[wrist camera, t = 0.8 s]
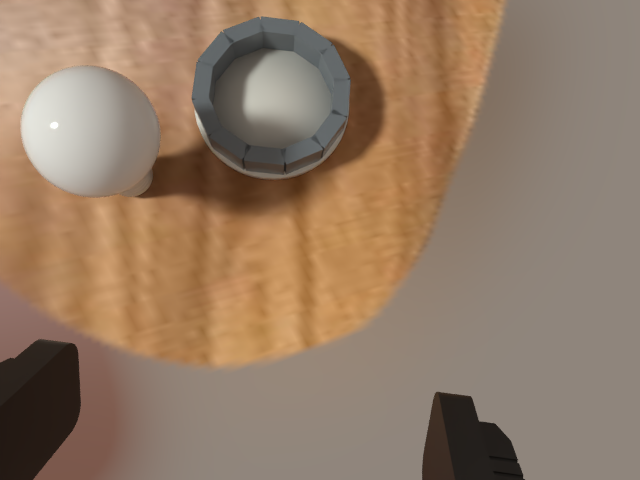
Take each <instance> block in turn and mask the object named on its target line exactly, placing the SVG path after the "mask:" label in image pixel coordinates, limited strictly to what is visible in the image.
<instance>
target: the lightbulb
mask: <svg viewBox="0 0 640 480" xmlns="http://www.w3.org/2000/svg"><path fill="white" fill-rule="evenodd" d="M21 138H22V142H23V146H24V149H25V152H26V154H27V156H28V158H29V160H30V161H31V163H32V164H33V166H34V167H35V169H36V170H37V171H38V172H39V173H40V174H41V175H42V176H43V177H44V178H45V179H46V180H47V181H48V182H50V183H51V184H53V185H54V186H56V187H58V188H59V189H61V190H63V191H66V192H68V193H71V194H74V195H78V196H82V197H90V198H101V197H109V196H113V195H117V194H120V195H122V196H126V197H134V196H138V195H140V194H142V193H144V192H145V191H146V190H147V189H148V188H149V187H150V185H151V183H152V179H153V171H152V167H153V165H154V163H155V161H156V159H157V156H158V153H159V148H160V141H161V132H160V124H159V120H158V116H157V114H156V111H155V109H154V107H153V105H152V103H151V101H150V100H149V98H148V97H147V96H146V94H145V93H144V92H143V91H142V90H141V89H140V88H139V87H138V86H137V85H136V84H135V83H134V82H133V81H131V80H130V79H128V78H127V77H125V76H124V75H122V74H120V73H118V72H115V71H113V70H110V69H107V68H103V67H98V66H89V65H82V66H73V67H68V68H65V69H62V70H59V71H57V72H55V73H53V74H51V75H49V76H48V77H46V78H45V79H43V80H42V81H41V82H40V83H39V84H38V85H37V86H36V87H35V88H34V89H33V91H32V92H31V93H30V95H29V97H28V98H27V100H26V103H25V105H24V108H23V111H22V115H21Z"/></svg>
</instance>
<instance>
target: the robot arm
mask: <svg viewBox="0 0 640 480" xmlns="http://www.w3.org/2000/svg"><path fill="white" fill-rule="evenodd" d="M78 360H79V359H78V350H77V347H76V346H75V344H72V343H66V342H58V341H51V340H42V339H40V340H37V341H35V342H34V343H33V344H31V345H30V346H29V347H28V348H27V349H25V350H24V351H23V352H22V353H21V354H19V355H18V356H17V357H16V358H15V359H14V358H10V359H7V360H5V361H3V362H1V363H0V480H33V479H34V478H35V476H36V475H37V474H38V473H39V471H40V470H41V469H42V468H43V466H44V465H45V464H46V463H47V461H48V460H49V459H50V458H51V457H52V455H53V454H54V453H55V452H56V450H57V449H58V448H59V447H60V446H61V444H62V443H63V442H64V441H65V439H66V438H67V437H68V435H69V434H70V433H71V432H72V430H73V428H74V427H75V425H76V422H77V420H78V417H79V413H80V406H81V400H80V380H79V361H78ZM517 460H518V459H517V457H516V454H515V451H514V448H513V446H512V443H511V441H510V439H509V438H508V437H507V436H506V435H505V434H504V433H503V432H502V431H501V429H500V428H499V427H498V426H497V425H496V424H494V423H487V422H479V420H478V417H477V413H476V410H475V406H474V403H473V400H472V398H471V396H464V395H457V394H448V393H441V392H436V393H435V396H434V399H433V404H432V410H431V415H430V420H429V426H428V432H427V437H426V442H425V448H424V454H423V465H422V480H525V479H523V473H522V471H521V468H520V465H519V463H517Z"/></svg>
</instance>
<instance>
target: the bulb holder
mask: <svg viewBox="0 0 640 480" xmlns="http://www.w3.org/2000/svg"><path fill="white" fill-rule="evenodd" d="M223 32H224V33H223ZM223 32H222V31H221V32H220V34H219V35H218V36H217V37H216V38H215V40H214V41H213V42H212V43H211V44H210V46H209V47H208V48H207V49H206V50H205V52H204V53H203V54H202V55H201V56H200V58H199V59H198V62H197V64H196V71H195V78H194V85H193V92H192V102H193V105H194V108H195V116H196V120H197V124H198V127H199V129H200V132H201V135H202V137H203V139H204V141H205V142H206V144H207V146H208V147H209V148H210V150H211V151H212V152H213V153H214V154H215V155H216V157H217V158H218V159H219V160H221V161H222V162H223V163H224V164H226V165H227V166H229V167H230V168H232V169H234V170H235V171H237V172H240V173H242V174H244V175H247V176H250V177H254V178H259V179H265V180H280V179H288V178H292V177H296V176H299V175H302V174H305V173H307V172H309V171H311V170H313V169H314V168H316V167H317V166H319V165H320V164H322V163H323V162H324V161H325V160H326V159H327V158H328V157H329V156H330V155H331V154H332V153H333V151H334V150H335V149H336V147H337V146H338V144H339V143H340V141H341V139H342V136H343V134H344V131H345V128H346V125H347V122H348V116H349V94H350V82H351V80H350V76H349V74H348V72H347V70H346V68H345V66H344V64H343V62H342V60H341V58H340V56H339V54H338V52H337V50H336V48H335V46H334V45H332V43H331V42H330V41H328V40H327V39H325V38H324V37H323V36H321V35H320V34H318V33H317V32H315V31H314V30H312V29H311V28H309V27H308V26H306V25H305V24H304V23H302V22H301V23H300V24H299V21H294V20H286V19H278V18H269V17H261V20H260V18H259V17H257V18H254V19H251V20H249V21H246V22H243V23H241V24H238V25H236V26H233V27H230V28H228V29H225V30H223Z"/></svg>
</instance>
